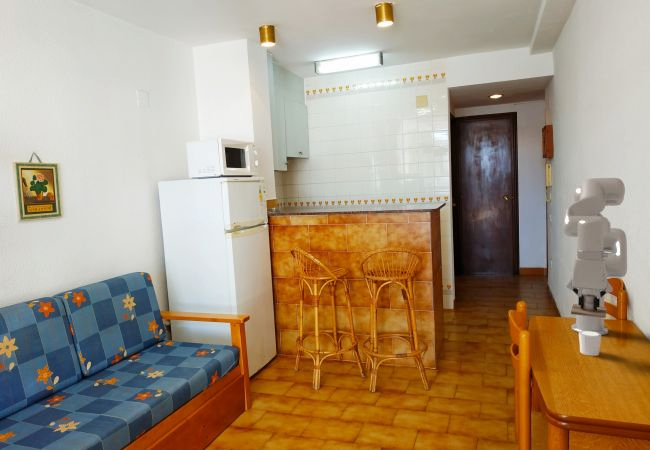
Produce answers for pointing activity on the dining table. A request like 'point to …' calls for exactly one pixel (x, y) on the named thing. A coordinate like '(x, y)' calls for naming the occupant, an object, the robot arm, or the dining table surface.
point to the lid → (589, 307)
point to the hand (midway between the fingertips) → (588, 307)
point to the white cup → (589, 342)
